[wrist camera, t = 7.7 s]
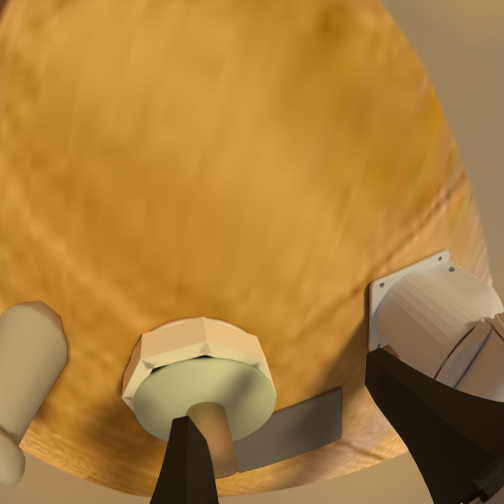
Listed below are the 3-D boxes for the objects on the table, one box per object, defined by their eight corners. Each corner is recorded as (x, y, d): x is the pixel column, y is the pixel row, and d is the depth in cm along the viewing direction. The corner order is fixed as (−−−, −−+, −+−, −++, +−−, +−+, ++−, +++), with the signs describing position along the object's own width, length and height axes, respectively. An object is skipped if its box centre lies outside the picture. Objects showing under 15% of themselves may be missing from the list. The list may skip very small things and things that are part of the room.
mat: (340, 386, 27) (341, 389, 27) (340, 435, 32) (341, 438, 32) (209, 430, 26) (209, 433, 25) (239, 470, 31) (239, 473, 30)
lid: (273, 344, 18) (304, 410, 13) (273, 428, 23) (293, 480, 18) (114, 366, 16) (104, 438, 11) (156, 446, 21) (160, 500, 16)
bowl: (244, 298, 20) (256, 325, 17) (272, 389, 25) (282, 416, 22) (106, 338, 19) (99, 368, 16) (163, 419, 24) (165, 446, 21)
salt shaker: (73, 361, 19) (42, 507, 8) (13, 339, 17) (-42, 468, 6) (77, 303, 18) (20, 471, 6) (9, 279, 16) (-81, 414, 4)
